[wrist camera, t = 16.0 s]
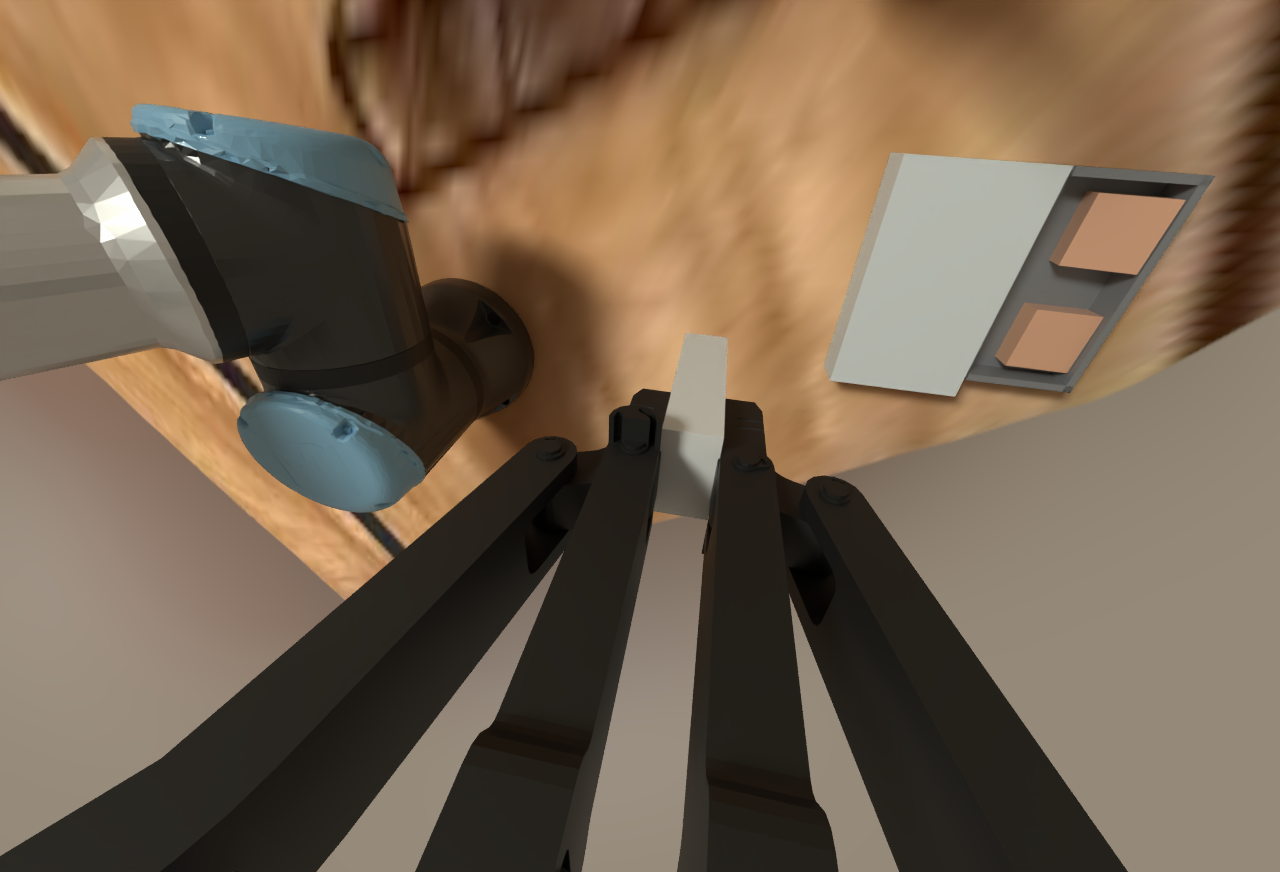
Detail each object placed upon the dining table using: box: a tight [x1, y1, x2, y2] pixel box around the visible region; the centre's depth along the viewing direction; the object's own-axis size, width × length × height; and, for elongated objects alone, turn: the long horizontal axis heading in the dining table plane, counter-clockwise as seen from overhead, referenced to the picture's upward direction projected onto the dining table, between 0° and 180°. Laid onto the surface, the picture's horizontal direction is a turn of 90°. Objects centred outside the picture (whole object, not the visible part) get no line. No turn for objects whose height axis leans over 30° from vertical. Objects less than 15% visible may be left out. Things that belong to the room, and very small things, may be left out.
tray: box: [965, 164, 1215, 393], centre depth 36 cm, size 8×16×3 cm, turn 177°
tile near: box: [1049, 191, 1186, 275], centre depth 34 cm, size 5×5×2 cm
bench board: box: [824, 153, 1073, 397], centre depth 38 cm, size 11×18×4 cm, turn 177°
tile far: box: [995, 302, 1104, 373], centre depth 39 cm, size 5×5×2 cm
